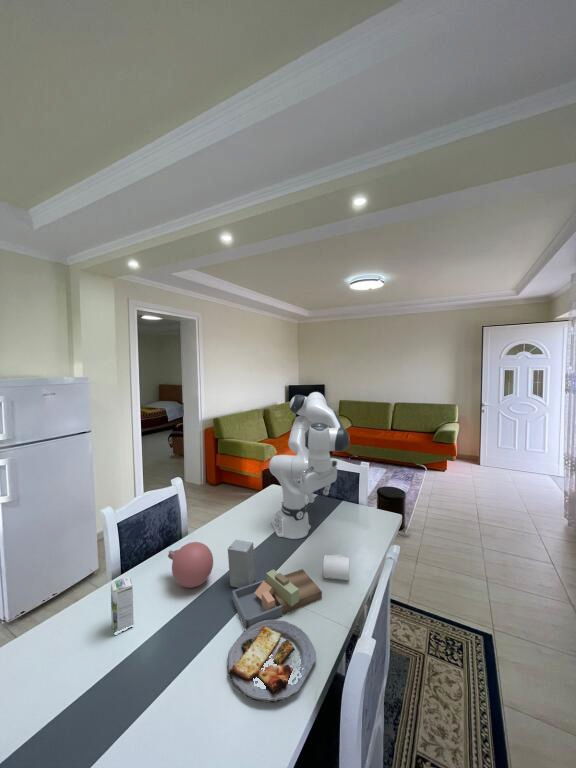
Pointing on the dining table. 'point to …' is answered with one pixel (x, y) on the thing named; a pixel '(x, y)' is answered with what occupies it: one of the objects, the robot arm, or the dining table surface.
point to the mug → (336, 567)
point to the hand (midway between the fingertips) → (318, 498)
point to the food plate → (256, 651)
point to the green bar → (283, 587)
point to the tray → (252, 606)
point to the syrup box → (121, 603)
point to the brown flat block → (300, 591)
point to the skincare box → (241, 563)
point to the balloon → (191, 564)
